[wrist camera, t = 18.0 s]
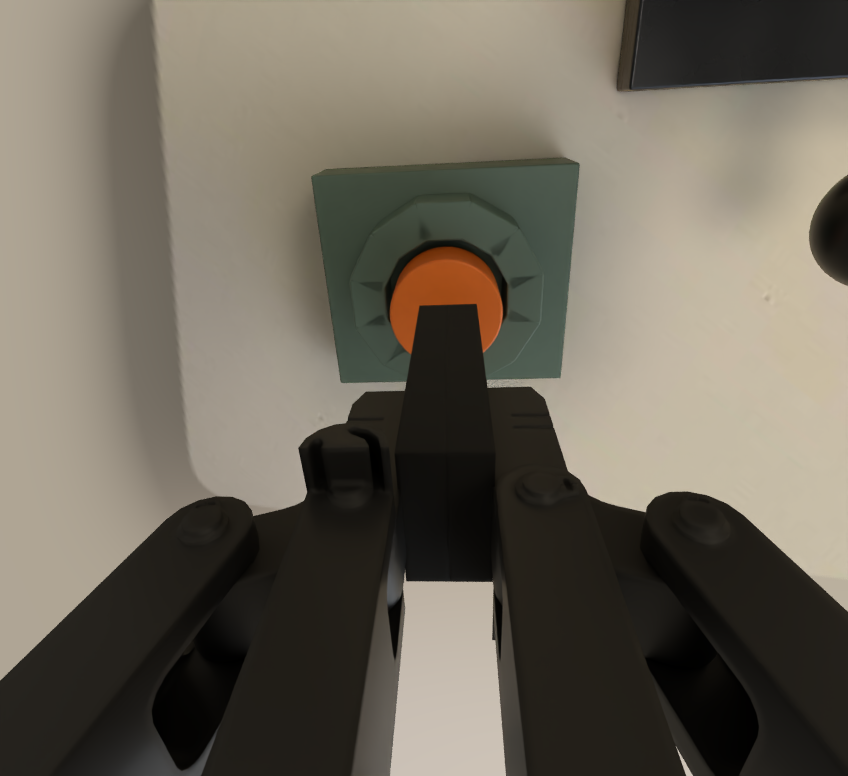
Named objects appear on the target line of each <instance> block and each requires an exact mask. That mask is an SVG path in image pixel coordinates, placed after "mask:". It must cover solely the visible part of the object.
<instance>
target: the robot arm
mask: <svg viewBox="0 0 848 776" xmlns="http://www.w3.org/2000/svg"><path fill="white" fill-rule="evenodd" d="M299 453H300V458H301V463H302V468H303V473H304V478H305V483H306V488H307V495H306V498H305V500H304V501H303V502H301V503H299V504H297V505H295V506H292V507H288V508H285V509H282V510H278V511H274V512H269V513H265V514H261V515H256V516H253V514H252V510H251V509H250V508H249V506H248V505H247V504H246V503H245V502H244V501H242V500H239V499H237V498H234V497H212V498H207V499H203V500H199V501H196V502H194V503H192V504H190V505H188V506H185V507H183V508H181V509H180V510H178V511H177V512H176V513H174V514H173V515H172V516H170V517H169V518H168V519H166V520H165V521H164V522H163V523H162V524H161V525H160V526H159V527H158V528H157V529H156V530H155V531H154V532H153V533H152V534H151V535H150V536H149V537H148V538H147V539H146V540H145V541H144V542H143V543H142V544H141V545H140V546H139V547H137V548H136V549H135V551H133V552H132V553H131V554H130V555H129V556H128V557H127V559H125V560H124V561H123V562H122V563H121V564H120V565H119V566H118V567H117V568H116V569H115V570H114V571H113V572H112V573H111V574H110V575H109V576H108V577H107V578H106V579H105V580H104V581H103V582H101V584H99V585H98V586H97V587H96V588H95V589H94V590H93V591H92V592H91V593H90V594H89V595H88V596H87V597H86V598H85V599H84V600H83V601H82V602H81V603H80V604H79V605H78V606H77V607H76V608H75V609H74V610H73V611H72V612H71V613H69V614H68V615H67V616H66V617H65V618H64V619H63V620H62V621H61V622H60V623H59V624H58V625H57V626H56V627H55V628H54V629H53V630H52V631H51V632H50V633H49V634H48V635H47V636H46V637H45V638H44V639H43V640H42V641H41V642H40V643H39V644H38V645H37V646H36V647H35V648H34V649H32V650H31V651H30V652H29V653H28V654H27V655H26V656H25V657H24V658H23V659H22V660H21V661H20V662H19V663H18V664H17V665H16V666H15V667H14V668H13V669H12V670H11V671H10V672H9V673H8V674H7V675H6V676H5V677H4V678H3V679H2V680H0V776H390V768H391V757H392V746H393V735H394V724H395V713H396V703H397V702H396V701H397V691H398V681H399V670H400V659H401V648H402V636H403V625H404V615H405V603H404V594H403V583H404V573H405V572H406V581H453V582H454V581H456V582H461V581H462V582H464V581H466V582H493V585H494V593H493V594H494V595H493V635H492V636H493V637H492V640H496V653H497V665H498V678H499V691H500V704H501V716H502V729H503V742H504V753H505V754H504V755H505V767H506V776H686V774H685V771H684V769H683V766H682V763H681V760H680V757H679V754H678V751H677V749H678V750H679V752H680V754H681V755H682V757H683V759H684V760H685V762H686V764H687V766H688V768H689V769H690V771H691V773H692V774H693V776H848V612H847V611H846V610H845V609H844V608H843V607H842V606H841V605H840V604H839V603H838V602H836V601H835V600H834V599H833V598H832V597H831V596H830V595H829V594H828V593H827V592H826V591H825V590H824V589H823V588H821V587H820V586H819V585H818V584H817V583H816V582H815V581H814V580H813V579H812V578H811V577H810V576H808V575H807V574H806V573H805V572H804V571H803V570H802V569H801V568H800V567H799V566H798V565H797V564H796V563H794V562H793V561H792V560H791V559H790V558H789V557H788V556H787V555H786V554H785V553H784V552H783V551H781V550H780V549H779V548H778V547H777V546H776V545H775V544H774V543H773V542H772V541H771V540H770V539H768V538H767V537H766V536H765V535H764V534H763V533H762V532H761V531H760V530H759V529H758V528H757V527H756V526H754V525H753V524H752V523H751V522H750V521H749V520H748V519H747V518H746V517H745V516H744V515H742V514H741V513H739V512H738V511H737V510H735V509H734V508H732V507H731V506H729V505H728V504H726V503H724V502H722V501H719V500H717V499H714V498H712V497H710V496H707V495H702V494H697V493H692V492H668V493H666V494H663V495H660V496H657V497H655V498H654V499H653V500H652V501H651V503H650V504H649V505H648V506H647V509H646V512H642V511H637V510H632V509H628V508H623V507H619V506H615V505H611V504H608V503H605V502H602V501H600V500H597V499H595V498H593V497H591V496H589V495H588V493H587V491H586V489H585V487H584V486H583V484H582V483H581V481H580V480H579V479H578V478H577V477H575V476H574V475H572V474H571V473H570V472H568V470H567V467H566V464H565V461H564V458H563V455H562V451H561V448H560V445H559V442H558V439H557V436H556V433H555V430H554V428H553V423H552V420H551V417H550V416H549V411H548V408H547V405H546V402H545V399H544V398H543V397H542V396H541V395H540V394H538V393H537V392H536V391H535V390H534V389H533V388H532V387H500V388H487V380H486V373H485V365H484V357H483V349H482V341H481V333H480V325H479V317H478V309H477V304H453V305H420V306H419V311H418V317H417V323H416V329H415V335H414V341H413V347H412V352H411V358H410V364H409V370H408V376H407V382H406V388H405V391H380V392H365V393H364V394H363V395H362V396H361V397H360V398H359V399H358V400H357V401H356V402H354V403H353V405H352V408H351V411H350V413H349V416H348V421H347V422H346V423H345V424H337V425H332V426H329V427H327V428H324V429H321V430H318V431H317V432H315V433H313V434H312V435H310V436H309V437H307V438H306V439H305V440H304V442H303V443H302V444H301V445H300V447H299ZM676 747H677V748H676Z"/></svg>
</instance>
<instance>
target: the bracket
mask: <svg viewBox="0 0 848 776" xmlns="http://www.w3.org/2000/svg"><path fill="white" fill-rule="evenodd" d="M834 79H848V0H627V4H626V13H625V22H624V30H623V39H622V48H621V57H620V65H619V74H618V83H617V91H619V92H622V91H640V90H657V89H675V88H693V87H710V86H728V85H745V84H763V83H781V82H798V81H816V80H834Z"/></svg>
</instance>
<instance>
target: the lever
mask: <svg viewBox="0 0 848 776" xmlns="http://www.w3.org/2000/svg"><path fill="white" fill-rule="evenodd" d="M809 242H810V248H811V251H812V254H813V256H814V258H815V260H816V262H817V264H818V265H819V266H820V267H821V269H822V270H823V271H824V272H825V273H826V274H828V275H829V276H830V277H832V278H833V279H835V280H836V281H838V282H840V283H842V284H845V285H847V286H848V175H847V176H845V177H844V178H843V179H841V180H840V181H839V182H838V183H837V184H835V185H834V186H833V187H832V188H831V189H830V190H829V192H828V193H827V194H826V195H825V196H824V198H823V199H822V200H821V202H820V203H819V205H818V207H817V209H816V211H815V213H814V215H813V218H812V221H811V225H810V231H809Z"/></svg>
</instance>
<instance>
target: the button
mask: <svg viewBox="0 0 848 776" xmlns="http://www.w3.org/2000/svg"><path fill="white" fill-rule="evenodd" d="M453 304H477V309H478V317H479V325H480V333H481V341H482V349H483V352H485V351H486V350H487V349H488V348H489V347H490V346H491V344H492V343H493V342H494V340H495V338H496V337H497V335H498V333H499V330H500V327H501V323H502V317H503V306H502V301H501V297H500V293H499V289H498V286H497V282H496V279H495V277H494V275H493V273H492V271H491V270H490V268H489V267H488V265H487V264H486V263H485V262H484V261H483V260H482V259H481V258H479V257H478V256H477V255H475V254H473V253H472V252H469V251H467V250H465V249H461V248H457V247H437V248H432V249H429V250H427V251H424V252H422V253H420V254H419V255H417V256H416V257H414V258H413V259H412V260H411V261H410V262H409V263H408V264H407V265H406V266H405V267H404V269H403V270H402V272H401V273H400V275H399V278H398V280H397V283H396V286H395V289H394V293H393V296H392V300H391V304H390V321H391V326H392V329H393V332H394V334H395V336H396V338H397V340H398V341H399V343H400V344H401V345H402V346H403V348H404V349H405V350H407V351H408V352H409V353H410V354H411V352H412V347H413V341H414V335H415V329H416V323H417V317H418V311H419V306H420V305H453Z"/></svg>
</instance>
